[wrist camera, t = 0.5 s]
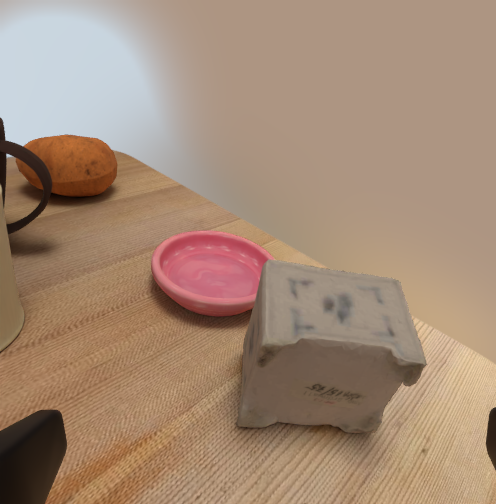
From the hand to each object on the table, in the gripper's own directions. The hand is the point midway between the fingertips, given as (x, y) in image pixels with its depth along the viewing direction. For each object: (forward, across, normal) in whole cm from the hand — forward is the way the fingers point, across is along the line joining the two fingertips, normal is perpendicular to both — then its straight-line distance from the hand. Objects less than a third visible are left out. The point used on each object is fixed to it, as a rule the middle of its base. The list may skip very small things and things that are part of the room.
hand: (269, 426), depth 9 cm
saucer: (+31, +6, +8) cm, 33 cm away
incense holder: (+20, -2, +13) cm, 24 cm away
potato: (+45, +26, -1) cm, 52 cm away
